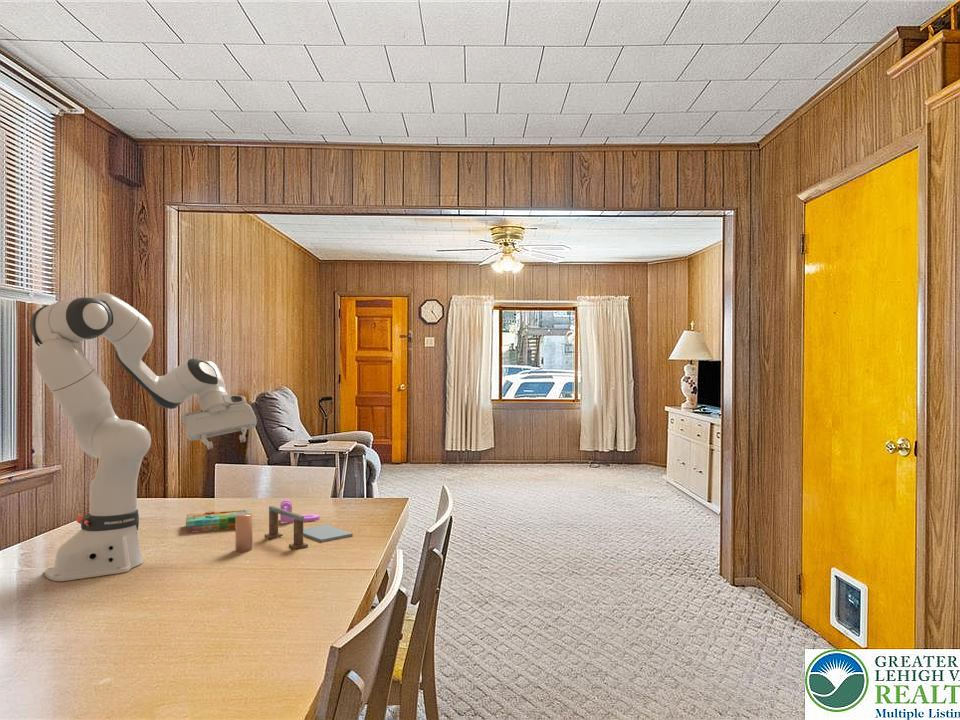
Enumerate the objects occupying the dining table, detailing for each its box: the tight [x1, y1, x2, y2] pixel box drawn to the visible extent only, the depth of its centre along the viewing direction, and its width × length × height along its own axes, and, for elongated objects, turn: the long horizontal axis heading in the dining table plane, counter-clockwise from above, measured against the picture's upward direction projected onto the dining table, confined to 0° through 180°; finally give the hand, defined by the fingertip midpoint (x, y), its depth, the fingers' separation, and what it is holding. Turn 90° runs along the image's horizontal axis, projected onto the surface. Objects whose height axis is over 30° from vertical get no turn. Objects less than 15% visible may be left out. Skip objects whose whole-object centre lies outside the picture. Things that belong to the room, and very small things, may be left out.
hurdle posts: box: [264, 510, 309, 550], centre depth 206 cm, size 4×20×8 cm, turn 43°
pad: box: [303, 524, 354, 543], centre depth 215 cm, size 11×16×1 cm
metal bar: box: [268, 505, 304, 521], centre depth 206 cm, size 1×20×1 cm, turn 43°
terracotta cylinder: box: [234, 513, 253, 553], centre depth 197 cm, size 5×5×10 cm
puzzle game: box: [185, 509, 252, 533], centre depth 225 cm, size 12×5×20 cm
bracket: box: [279, 499, 320, 522], centre depth 234 cm, size 13×6×7 cm, turn 106°
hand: (227, 444), depth 204 cm, fingers open, 8 cm apart
